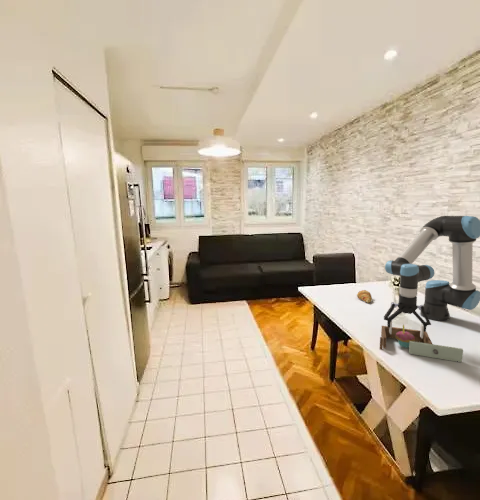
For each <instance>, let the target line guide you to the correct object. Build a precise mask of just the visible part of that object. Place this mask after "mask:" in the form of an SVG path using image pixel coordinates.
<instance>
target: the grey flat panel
mask: <svg viewBox="0 0 480 500" xmlns="http://www.w3.org/2000/svg"><path fill="white" fill-rule="evenodd" d="M408 354H409V355H415V356H416V355H417V356H421V357H426V358H427V357H428V358H433V359H439V360H440V359H441V360H446V361H452V362H457V361H458V363H462V362H463V357H464V356H463V355H464V349H463V348H461V347H454V346H453V347H452V346H446V345H440V344H435V343H434V344H433V343H432V344H427V343H421V342H414V341H410V342H409V348H408Z"/></svg>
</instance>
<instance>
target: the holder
mask: <svg viewBox="0 0 480 500" xmlns="http://www.w3.org/2000/svg"><path fill="white" fill-rule="evenodd" d="M389 329H390V327H388V326H387V325H381V331H380V337H379V350H383V349H384V350H385V349H387V338H388V339H395V340H397V339H396V333H397V332H399V331H403V327H398V326H397V327H396V326H395V327H394V326H392V334H390V332H389ZM404 331H407V332H409V333H411V334H412V335H414V337H415V341H414V342H421V343H427V344H433V342H432V341H431V338H430V335H429V334H428V332H427V331H426V332H424V331H423V338H421V337H420V330H419V329H412V328H411V329H410V328H404Z"/></svg>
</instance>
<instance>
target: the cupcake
mask: <svg viewBox="0 0 480 500" xmlns="http://www.w3.org/2000/svg"><path fill="white" fill-rule="evenodd" d="M402 328H403V331H399V332H397V333H396V339H395V340H397V341H398V345H399V346H400V347H402V348H406V349H407V348H408V349H409V342H410V341H415V337H414V335H412V334H411V333H409V332H407V331H404V329H405V324H404V323H402Z"/></svg>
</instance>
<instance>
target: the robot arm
mask: <svg viewBox="0 0 480 500" xmlns="http://www.w3.org/2000/svg"><path fill="white" fill-rule="evenodd" d="M439 237H448V242H449V243H451V244H452V246H451V247H452V248H451V249H452V282H451V283H450V282H449V281H447V280H443V279H436V280H435V279H433V277H434V276H435V270H434V268H433V266H431V265H428V264H422V265H420V264H413V263H414V262H415V261H416V260H417V259H418V258H419V257H420V255H421V254H422V253H423V252H424V251H425V249H427V248H428V246H429V245H430V244H431V243H432V242H433V241H435V240H437V239H438V238H439ZM479 238H480V219H479V218H478V217H477V216H470V215H440V216H438V217H435V218H433V219H431V220H430V221H427V222H426V224H424V225H423V226H422V227H421V228H420V230H419V233H418V235H416V237H414V239H413V240H412V241H411V242H409V244H408V246H406V248H405V249H403V251H402V252H401V253H400V254H399V256H397V258H396V259H395V260H393V259H392V260H388V261H387V262H386V263H385V265H384V269H385V272H386V274H389V275H393V276H399V290H398V291H399V292H398V293H399V294H398V303H396V302H393V301H392V302H391V303H390V307H389V308H388V309H387V311H386V313H385V314H384V316H383V320H384V321H387V322H386V323H387V324H386V326H388V327H390V329H389V332H390V334H392V327H393V320H394V319H395V318H396V317H398V316H399V315H401V314H402V313H403V314H407V315H411V314H413V315H414V316H415V317H416V318H417V320H418V321H419V322H420V337H421V338H423V331H424V332H427V327H428V326H431V325H432V323H431V321H430V320H432V321H438V322H439V321H440V322H444V321H445V322H446V321H449V320H450V318H451V315H450V311H449V308H448V305H450V306H453V307H457V308H461V309H465V310H469V311H470V310H474V309H476V307H477V306H478V305H479V303H480V291H479V290H477V286H476V284H474V283H473V244H474V243H475V242H476V241H477V239H479ZM430 279H433V280H430ZM424 281H426V283H425V286H424V287H425V288H424V289H425V291H424V302H423V304H421V305H417V302H418V301H417V300H418V297H417V296H418V287H419V286H418V285H419V284H418V283H420V282H424ZM397 307H398V308H397ZM396 308H397V310H396V311H394V309H396ZM417 309H418V310H419V311H420V313H418V312H417V311H416V310H417ZM393 311H394V312H393ZM422 317H423V318H424V319H423V318H422Z"/></svg>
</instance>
